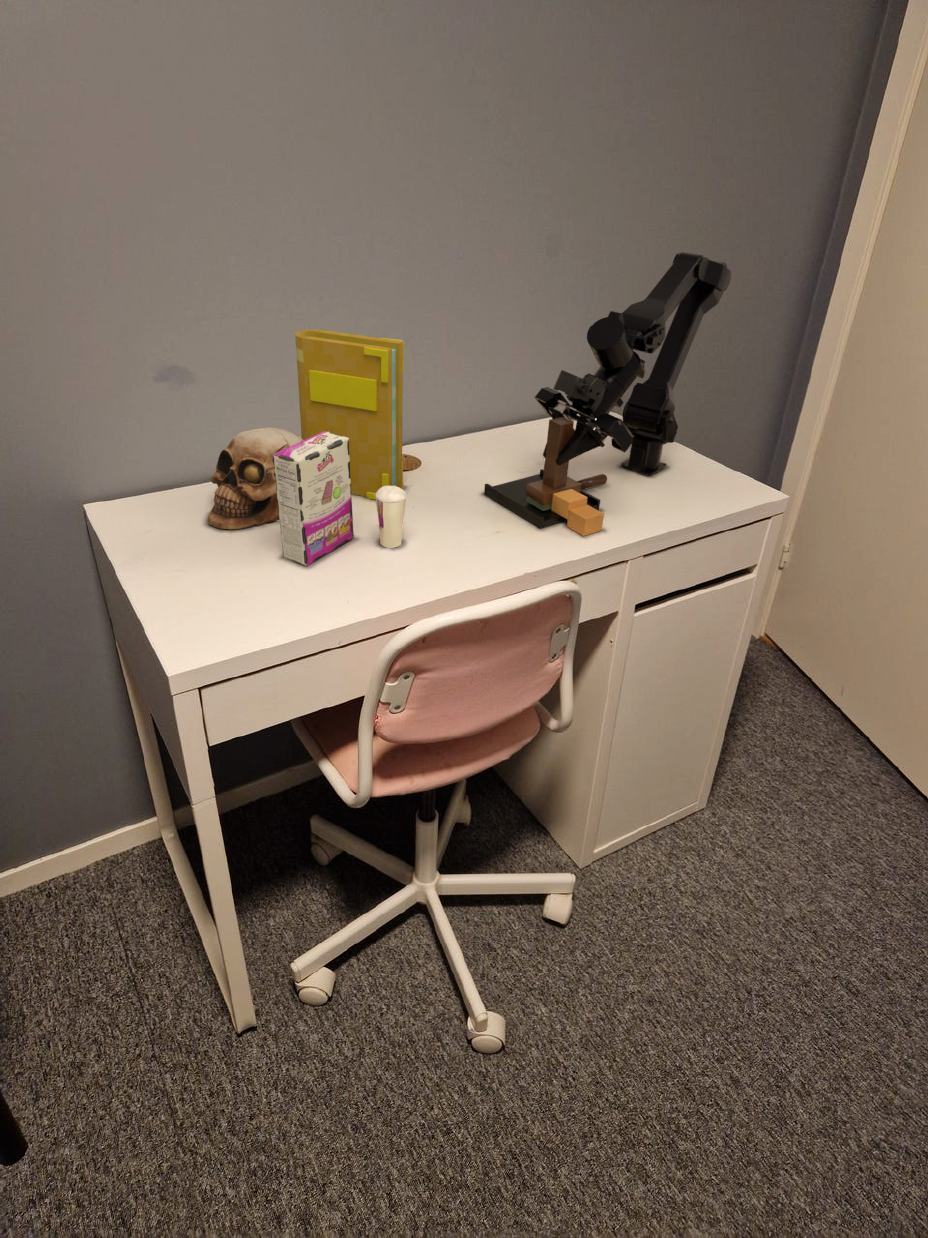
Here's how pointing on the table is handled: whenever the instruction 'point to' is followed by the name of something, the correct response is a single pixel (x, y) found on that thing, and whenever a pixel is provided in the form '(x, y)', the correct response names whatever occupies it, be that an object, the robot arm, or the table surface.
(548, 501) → the scrub brush
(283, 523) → the candy bar box
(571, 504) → the block
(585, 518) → the orange square block
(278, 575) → the table surface
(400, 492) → the milkshake
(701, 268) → the robot arm
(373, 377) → the book
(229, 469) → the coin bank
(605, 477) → the griddle
